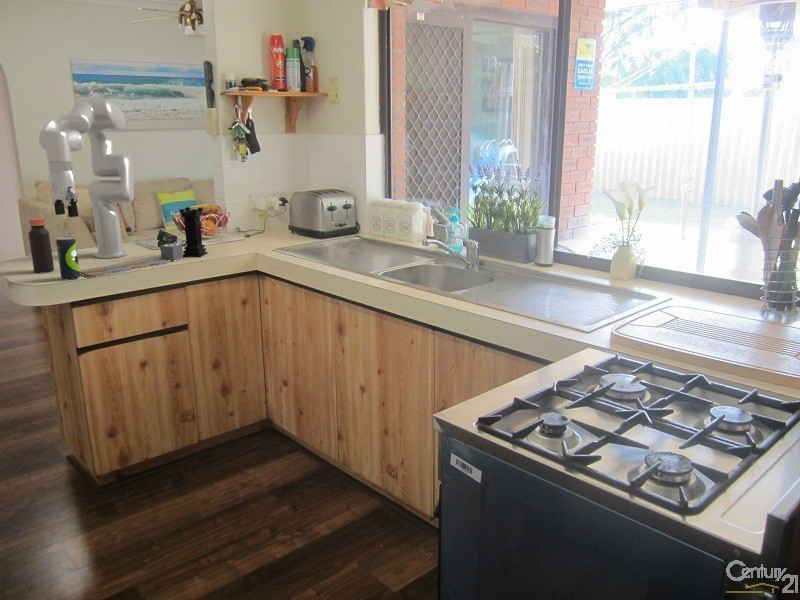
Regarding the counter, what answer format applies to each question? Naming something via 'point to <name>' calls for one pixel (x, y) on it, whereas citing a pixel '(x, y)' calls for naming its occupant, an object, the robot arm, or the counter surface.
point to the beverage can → (67, 257)
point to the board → (122, 267)
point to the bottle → (40, 246)
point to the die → (171, 251)
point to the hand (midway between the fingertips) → (66, 215)
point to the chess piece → (193, 232)
